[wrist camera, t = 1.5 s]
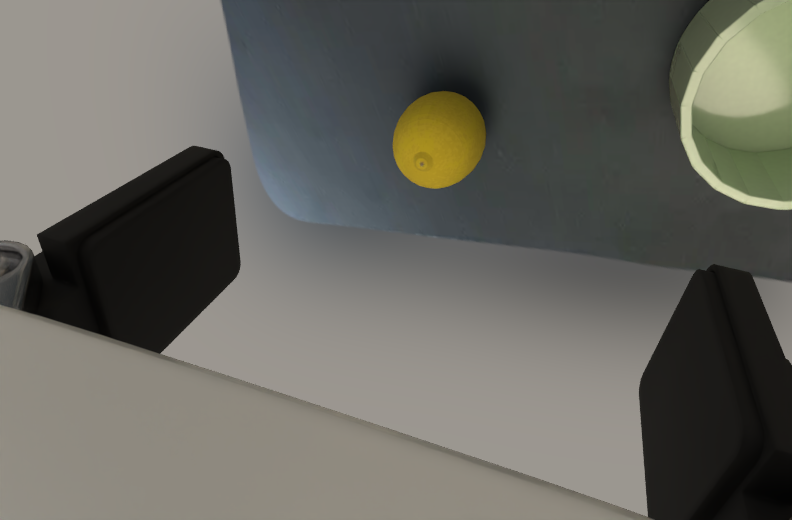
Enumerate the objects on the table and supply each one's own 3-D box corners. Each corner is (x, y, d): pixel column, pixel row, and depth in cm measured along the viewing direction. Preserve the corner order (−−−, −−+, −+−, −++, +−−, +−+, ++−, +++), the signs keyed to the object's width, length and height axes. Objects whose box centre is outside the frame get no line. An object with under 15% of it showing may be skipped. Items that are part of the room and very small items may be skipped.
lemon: (471, 171, 38) (442, 224, 31) (403, 132, 38) (361, 178, 31) (511, 103, 34) (488, 148, 28) (437, 61, 34) (397, 96, 28)
